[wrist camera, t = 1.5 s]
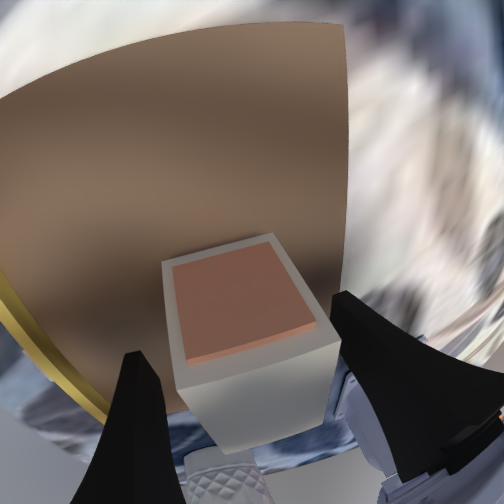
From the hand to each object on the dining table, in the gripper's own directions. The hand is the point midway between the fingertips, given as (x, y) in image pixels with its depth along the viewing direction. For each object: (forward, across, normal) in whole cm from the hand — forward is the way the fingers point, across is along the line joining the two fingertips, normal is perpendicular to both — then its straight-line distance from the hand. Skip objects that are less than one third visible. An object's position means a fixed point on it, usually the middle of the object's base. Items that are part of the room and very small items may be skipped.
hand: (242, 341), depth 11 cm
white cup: (+3, +5, +21) cm, 22 cm away
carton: (+2, 0, 0) cm, 2 cm away
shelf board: (+2, +2, -1) cm, 3 cm away
